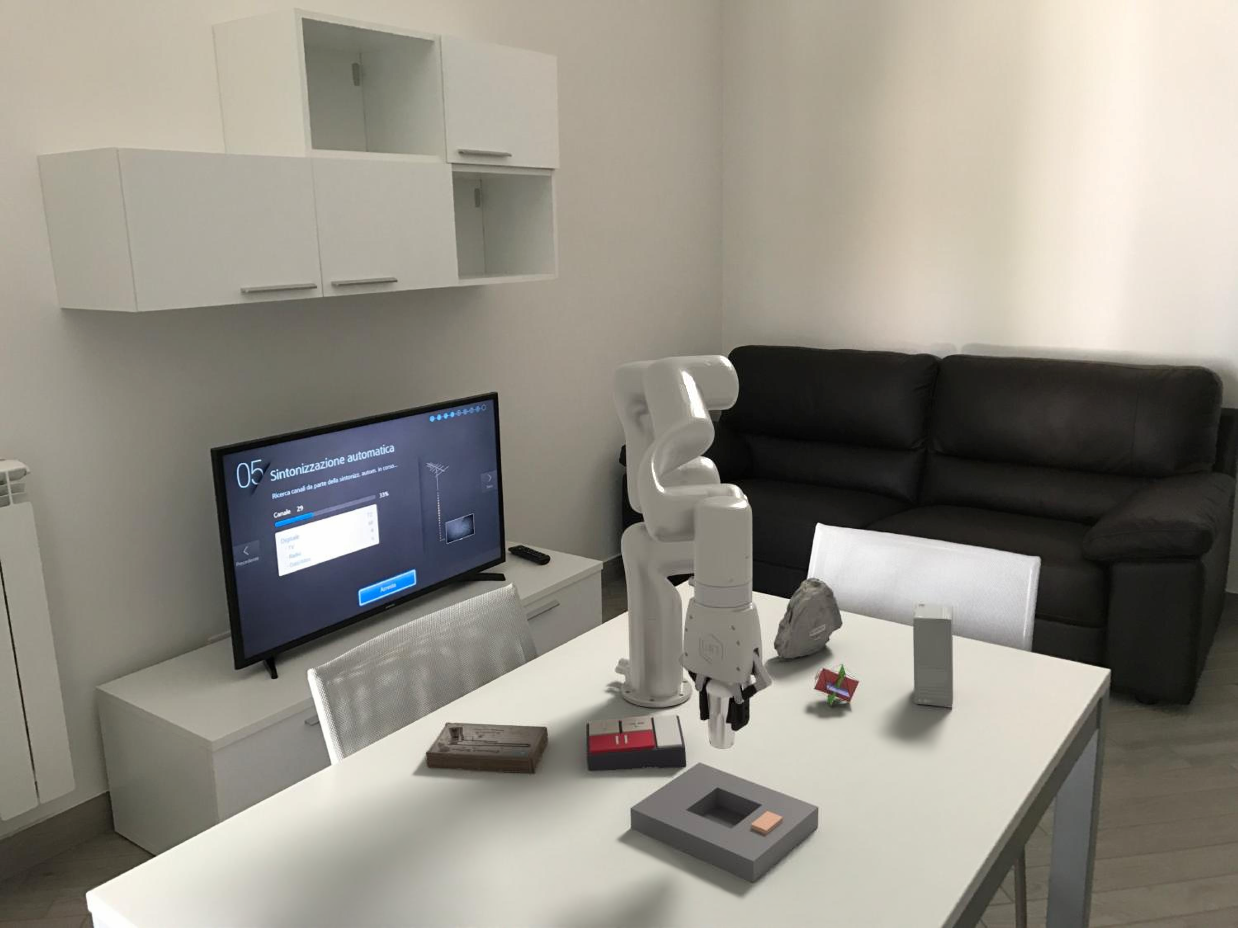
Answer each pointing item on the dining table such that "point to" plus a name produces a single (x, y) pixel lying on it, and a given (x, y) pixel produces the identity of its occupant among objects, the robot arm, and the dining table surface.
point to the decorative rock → (808, 620)
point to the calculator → (635, 743)
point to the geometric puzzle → (835, 684)
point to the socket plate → (725, 820)
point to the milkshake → (720, 713)
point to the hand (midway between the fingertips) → (724, 720)
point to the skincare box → (933, 654)
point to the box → (488, 747)
